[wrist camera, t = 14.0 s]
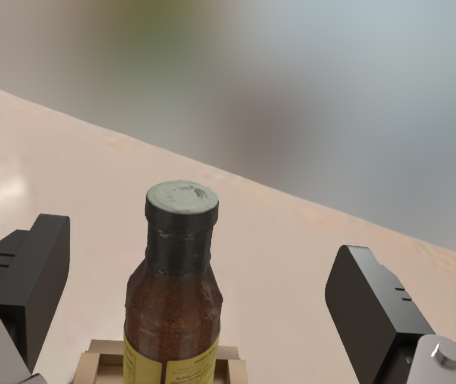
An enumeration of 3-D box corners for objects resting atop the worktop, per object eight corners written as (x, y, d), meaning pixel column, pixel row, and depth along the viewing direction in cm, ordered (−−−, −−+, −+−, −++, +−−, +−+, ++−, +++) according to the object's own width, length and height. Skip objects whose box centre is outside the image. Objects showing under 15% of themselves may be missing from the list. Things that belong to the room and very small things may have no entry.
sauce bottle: (209, 399, 35) (254, 182, 26) (197, 478, 29) (247, 235, 20) (131, 383, 35) (149, 163, 26) (104, 459, 29) (115, 210, 21)
